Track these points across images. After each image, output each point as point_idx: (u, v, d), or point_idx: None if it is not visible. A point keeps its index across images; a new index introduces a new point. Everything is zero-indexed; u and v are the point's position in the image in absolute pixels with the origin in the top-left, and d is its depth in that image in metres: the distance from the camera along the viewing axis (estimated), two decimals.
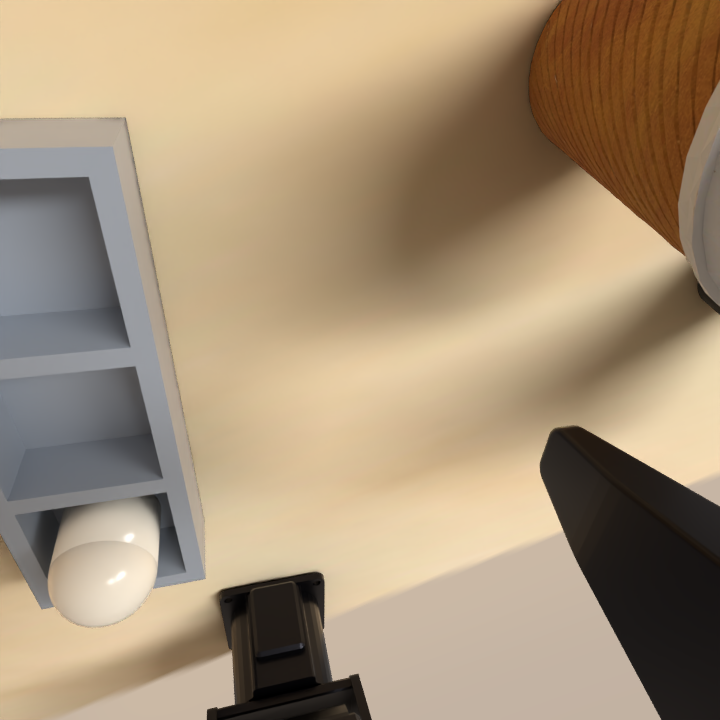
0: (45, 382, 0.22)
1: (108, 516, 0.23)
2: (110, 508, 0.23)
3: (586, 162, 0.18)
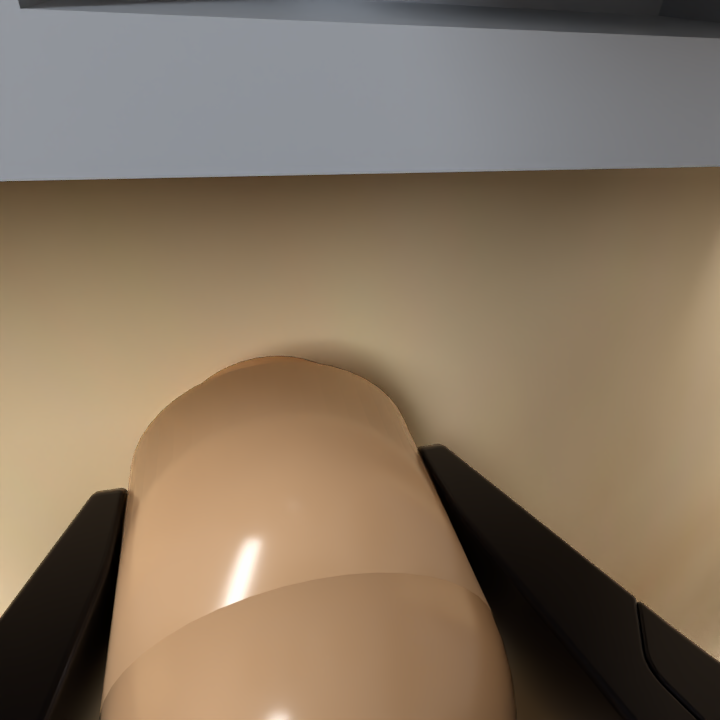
0: None
1: None
2: None
3: None
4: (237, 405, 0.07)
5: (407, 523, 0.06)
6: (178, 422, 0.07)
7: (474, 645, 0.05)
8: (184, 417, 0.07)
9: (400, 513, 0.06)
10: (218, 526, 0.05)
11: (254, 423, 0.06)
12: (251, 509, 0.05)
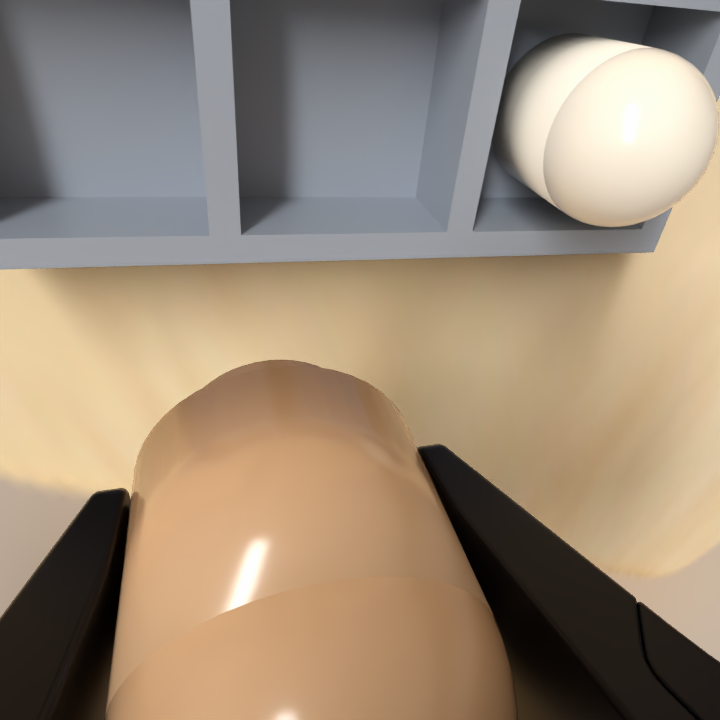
0: (315, 140, 0.16)
1: (529, 110, 0.14)
2: (522, 104, 0.14)
3: None
4: (240, 409, 0.07)
5: (409, 527, 0.06)
6: (182, 426, 0.07)
7: (475, 648, 0.05)
8: (187, 421, 0.07)
9: (402, 517, 0.06)
10: (222, 530, 0.05)
11: (257, 427, 0.06)
12: (254, 513, 0.05)
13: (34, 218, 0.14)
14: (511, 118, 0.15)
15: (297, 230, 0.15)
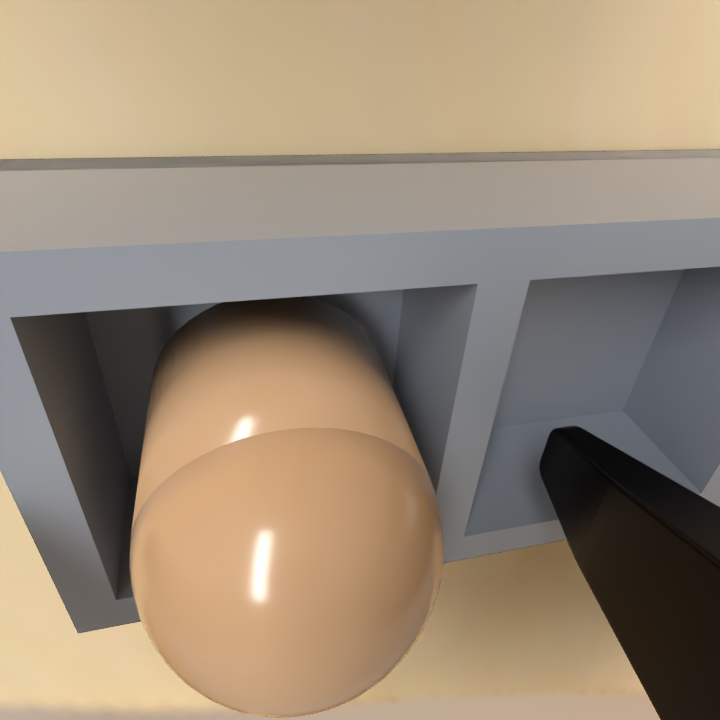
0: (522, 372, 0.13)
1: None
2: None
3: None
4: (238, 321, 0.08)
5: (364, 404, 0.07)
6: (190, 335, 0.08)
7: (407, 484, 0.07)
8: (195, 332, 0.08)
9: (359, 397, 0.07)
10: (220, 399, 0.07)
11: (250, 333, 0.08)
12: (245, 387, 0.07)
13: None
14: None
15: (525, 514, 0.12)
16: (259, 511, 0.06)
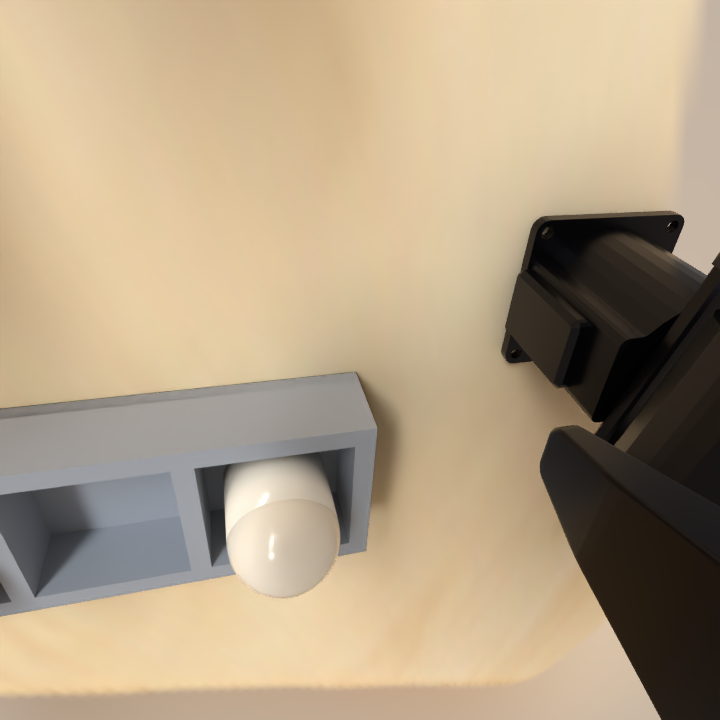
0: (101, 500, 0.23)
1: (225, 512, 0.21)
2: (225, 503, 0.21)
3: None
4: None
5: None
6: None
7: None
8: None
9: None
10: None
11: None
12: None
13: None
14: (224, 503, 0.21)
15: (78, 584, 0.21)
16: None
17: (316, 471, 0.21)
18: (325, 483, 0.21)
